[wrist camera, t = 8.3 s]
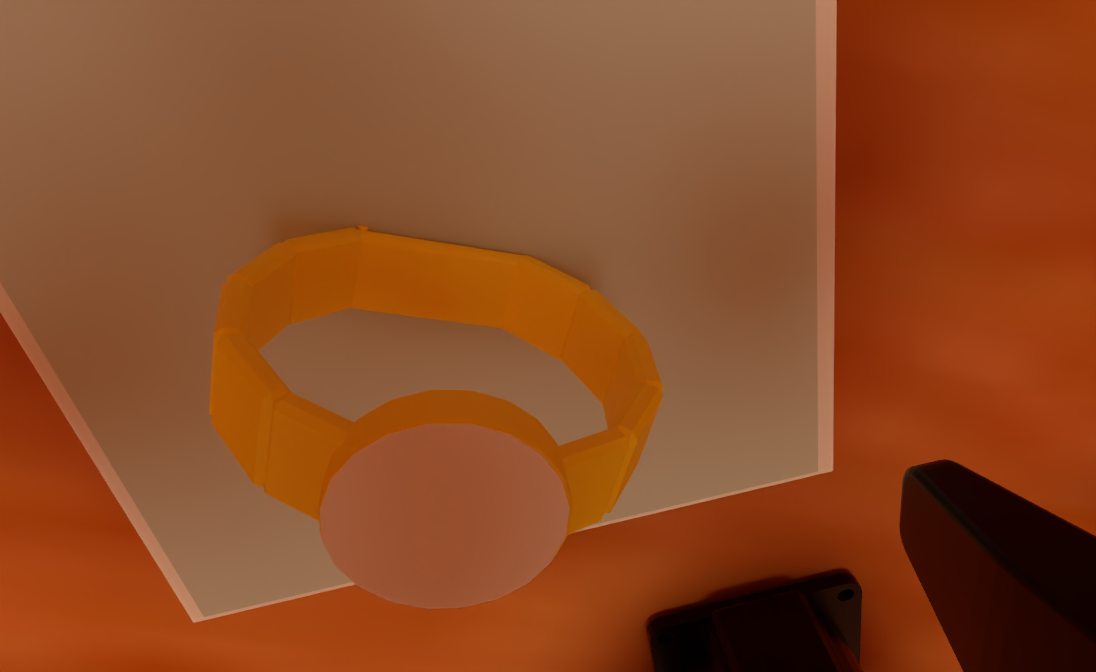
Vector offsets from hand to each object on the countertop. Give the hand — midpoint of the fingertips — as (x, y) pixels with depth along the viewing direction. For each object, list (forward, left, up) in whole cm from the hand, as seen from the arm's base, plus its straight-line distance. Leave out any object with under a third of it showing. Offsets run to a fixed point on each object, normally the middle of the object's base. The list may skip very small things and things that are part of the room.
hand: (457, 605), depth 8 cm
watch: (0, 0, -7) cm, 7 cm away
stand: (0, 0, -11) cm, 11 cm away
